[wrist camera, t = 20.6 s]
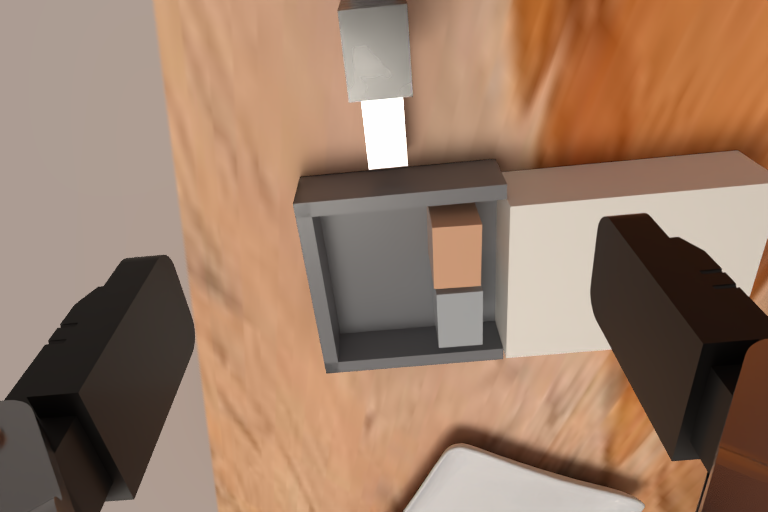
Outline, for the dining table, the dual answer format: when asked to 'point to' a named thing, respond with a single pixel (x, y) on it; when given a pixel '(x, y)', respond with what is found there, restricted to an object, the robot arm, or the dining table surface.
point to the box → (390, 261)
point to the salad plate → (509, 487)
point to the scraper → (378, 73)
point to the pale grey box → (458, 315)
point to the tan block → (454, 245)
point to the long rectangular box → (579, 230)
